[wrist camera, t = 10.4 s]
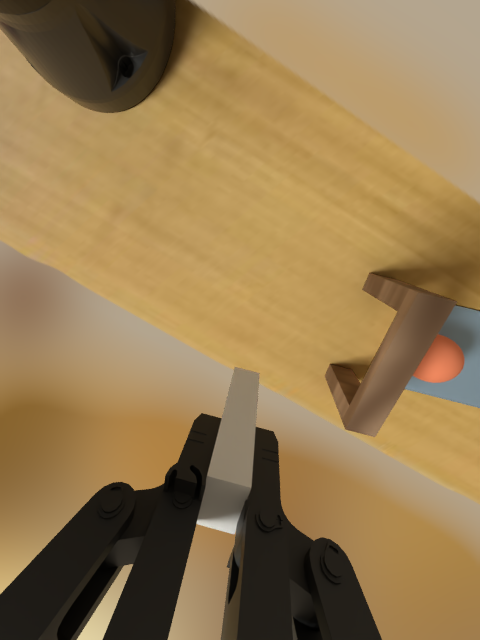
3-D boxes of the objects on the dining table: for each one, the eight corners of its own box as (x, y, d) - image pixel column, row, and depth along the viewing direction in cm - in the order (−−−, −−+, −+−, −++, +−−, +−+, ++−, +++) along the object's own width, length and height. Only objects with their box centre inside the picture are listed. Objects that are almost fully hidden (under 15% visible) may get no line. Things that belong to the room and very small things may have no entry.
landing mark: (446, 303, 26) (447, 303, 26) (552, 328, 26) (554, 329, 26) (397, 386, 31) (398, 387, 30) (487, 409, 30) (488, 410, 30)
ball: (455, 347, 22) (489, 353, 23) (405, 322, 26) (436, 328, 28) (423, 392, 24) (456, 394, 25) (381, 361, 28) (412, 364, 30)
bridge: (324, 376, 31) (345, 429, 23) (369, 272, 26) (418, 292, 18) (346, 381, 31) (374, 437, 23) (395, 279, 26) (457, 301, 17)
